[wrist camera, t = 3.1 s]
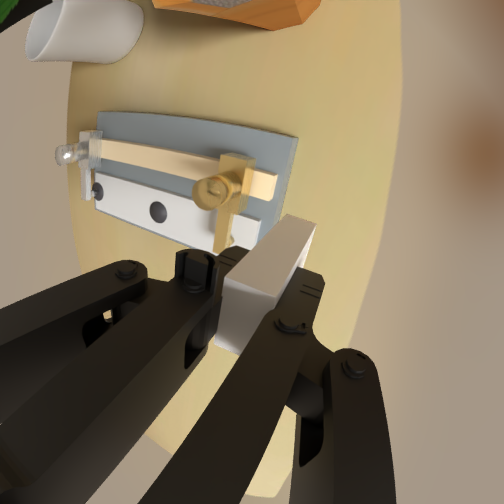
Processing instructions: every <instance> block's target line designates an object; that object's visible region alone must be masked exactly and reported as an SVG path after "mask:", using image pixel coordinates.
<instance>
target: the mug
mask: <svg viewBox="0 0 504 504" xmlns="http://www.w3.org/2000/svg"><path fill="white" fill-rule="evenodd" d="M52 1H53V3H51V4H49V5H47V6H45V7H43V8H41V9H39V10H37V11H36V12H35V15H34V17H33V19H32V21H31V23H30V26H29V29H28V33H27V37H26V44H25V53H26V57H27V59H28V60H30V61H34V62H36V61H37V62H38V61H75V62H92V63H101V64H111V63H115V62H117V61H119V60H121V59H122V58H123V57H125V56H126V55H127V54H128V53H129V52H130V51H131V49H132V48H133V47H134V45H135V44H136V42H137V40H138V39H139V36H140V34H141V32H142V28H143V24H144V14H143V11H142V9H141V7H140V6H139V5H137V4H136V3H133V2H130V1H127V0H52Z"/></svg>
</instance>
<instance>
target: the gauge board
mask: <svg viewBox="0 0 504 504" xmlns="http://www.w3.org/2000/svg"><path fill="white" fill-rule="evenodd" d="M96 130H100V131H103V135H102V150H101V167H98V168H95V169H94V184H93V187H92V190H94V189H97V190H98V195H97V196H94V198H95V210H98V211H100V212H103V213H105V214H107V215H110V216H112V217H115V218H117V219H120V220H122V221H125V222H127V223H129V224H132V225H134V226H137V227H139V228H142V229H144V230H147V231H149V232H152V233H154V234H157V235H159V236H162V237H164V238H167V239H169V240H172V241H175V242H177V243H180V244H182V245H185V246H187V247H190V248H192V249H201V250H204V251H208V252H210V253H212V254H214V255H215V256H217V255H219V254H217V253H214V252H212V250H213V243H214V236H215V229H216V222H217V216H218V209H216V208H215V209H213V210H211V211H205V210H202V209H200V208H199V207H198V206H197V205H196V204H195V203H194V201H193V198H192V188H193V186H194V184H195V183H196V182H197V181H198V180H200V179H203V178H206V177H209V176H212V175H215V174H218V168H219V162H220V156H221V154H227V153H236V154H240V155H244V156H249V157H253V158H256V163H255V168H254V173H253V178H252V183H251V188H250V194H249V199H248V204H247V209H245V210H244V211H242V212H241V213H239V214H238V215H235V214H234V217H233V223H232V229H231V235H230V236H232V237H233V238H234V243H233V244H232V245H231V246H230V247H232V246H235V245H237V246H240V247H243V248H245V249H248V250H251V249H252V248H253V247H254V246H255V245H256V244H257V243H258V242H259V241H260V240H261V239H262V238H263V237H264V236H265V235H266V234H267V233H268V232H269V231H270V230H271V229H272V228H273V227H274V226H275V225H276V224H277V223H278V222H279V218H280V214H281V210H282V206H283V202H284V198H285V193H286V189H287V185H288V181H289V177H290V173H291V168H292V164H293V160H294V156H295V151H296V147H297V143H298V138H296V137H292V136H288V135H284V134H280V133H276V132H271V131H267V130H262V129H257V128H252V127H247V126H242V125H237V124H231V123H226V122H220V121H213V120H207V119H200V118H192V117H184V116H176V115H166V114H155V113H142V112H125V111H102V112H98V117H97V128H96Z"/></svg>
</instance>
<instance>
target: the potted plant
mask: <svg viewBox="0 0 504 504" xmlns="http://www.w3.org/2000/svg"><path fill="white" fill-rule="evenodd" d="M152 2H153V4H154V7H155V8H160V9H169V10H177V11H184V12H191V13H197V14H202V15H207V16H213V17H218V18H223V19H228V20H233V21H238V22H242V23H246V24H250V25H254V26H258V27H262V28H265V29H269V30H272V31H275V30H279V29H283V28H287V27H291V26H295V25H300V24H303V23H304V22H305V21H306V19H307V18H308V17H309V16H310V15H311V14H312V13H313V12H314V11H315V10H316V8H317V7H318V6H319V5H320V2H321V0H152ZM51 3H53V1H52V0H0V33H1V32H3V31H4V30H5V29H7V28H9V27H10V26H12V25H13V24H15V23H17V22H18V21H20V20H21V19H23V18H25V17H27V16H28V15H30V14H32V13H33V12H36V11H37V10H39V9H41V8H43V7H45V6H47V5H49V4H51Z"/></svg>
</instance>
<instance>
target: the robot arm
mask: <svg viewBox="0 0 504 504" xmlns="http://www.w3.org/2000/svg"><path fill="white" fill-rule="evenodd" d="M316 225H317V224H316V223H313V222H310V221H307V220H304V219H301V218H298V217H295V216H292V215H289V214H286V215H285V216H284V217H283V218H282V219H281V220H280V221H279V222H278V223H277V224H276V225H275V226H274V227H273V228H272V229H271V230H270V231H269V232H268V233H267V234H266V235H265V236H264V237H263V238H262V239H261V240H260V241H259V242H258V243H257V244H256V245H255V246H254V247H253V248H252V249H251V250H248V249H245V248H243V247H240V246H237V245H235V246H232V247H229V248H226V249H225V250H223V251H222V252H221V253H220V254H219V255H217V256H215V255H214V254H212V253H210V252H208V251H204V250H201V249H184V250H181V251H178V252H176V260H175V277H174V278H173V279H171V280H170V281H169V282H166V281H160V280H156V279H151V278H148V274H147V268H146V267H145V266H144V264H142V263H140V262H138V261H133V260H121V261H117V262H114V263H111V264H109V265H106V266H104V267H101V268H98V269H96V270H93V271H91V272H88V273H85V274H83V275H80V276H78V277H76V278H73V279H70V280H68V281H65V282H63V283H60V284H58V285H56V286H53V287H51V288H48V289H46V290H43V291H41V292H39V293H37V294H34V295H32V296H29V297H27V298H25V299H22V300H20V301H18V302H15V303H13V304H11V305H8V306H6V307H4V308H2V309H0V424H1V423H2V424H1V425H0V504H85V503H86V502H87V501H88V500H89V498H90V497H91V496H92V495H93V494H94V493H95V491H96V490H97V489H98V488H99V486H101V484H102V483H103V482H104V481H105V480H106V478H107V477H108V476H109V475H110V474H111V473H112V471H113V470H114V469H115V468H116V467H117V465H118V464H119V463H120V462H121V461H122V459H123V458H124V457H125V455H126V454H127V453H128V452H129V451H130V449H131V448H132V447H133V446H134V445H135V443H136V442H137V441H138V440H139V438H140V437H141V436H142V435H143V434H144V432H145V431H146V430H147V429H148V427H149V426H150V425H151V424H152V422H153V421H154V420H155V419H156V417H157V416H158V415H159V414H160V412H161V411H162V410H163V409H164V407H165V406H166V405H167V404H168V402H169V401H170V400H171V398H172V397H173V396H174V395H175V393H176V392H177V391H178V389H179V388H180V387H181V386H182V384H183V383H184V382H185V380H186V379H187V378H188V377H189V375H190V374H191V373H192V371H193V370H194V369H195V368H196V366H197V365H198V364H199V362H200V361H201V360H202V358H203V357H204V356H205V354H206V352H207V350H208V343H209V341H210V340H211V338H212V337H213V336H214V334H215V339H214V344H215V345H217V346H219V347H222V348H224V349H226V350H228V351H230V352H233V353H235V354H237V355H240V356H239V358H238V360H237V361H236V363H235V364H234V366H233V368H232V369H231V371H230V372H229V374H228V375H227V377H226V378H225V380H224V382H223V383H222V385H221V386H220V388H219V389H218V391H217V392H216V394H215V395H214V397H213V398H212V400H211V401H210V403H209V404H208V406H207V407H206V409H205V410H204V412H203V413H202V415H201V416H200V418H199V419H198V421H197V422H196V424H195V425H194V427H193V428H192V430H191V431H190V433H189V434H188V435H187V437H186V438H185V440H184V441H183V443H182V444H181V445H180V447H179V448H178V450H177V451H176V453H175V454H174V455H173V457H172V458H171V460H170V461H169V462H168V464H167V465H166V466H165V468H164V469H163V471H162V472H161V474H160V475H159V476H158V478H157V479H156V480H155V481H154V483H153V484H152V485H151V487H150V488H149V489H148V491H147V492H146V493H145V495H144V496H143V497H142V499H141V500H140V501H139V503H138V504H239V503H240V501H241V499H242V497H243V495H244V494H245V492H246V490H247V488H248V486H249V484H250V482H251V480H252V478H253V476H254V474H255V472H256V470H257V468H258V465H259V463H260V461H261V459H262V457H263V455H264V453H265V450H266V448H267V446H268V444H269V442H270V439H271V437H272V435H273V432H274V430H275V428H276V425H277V423H278V421H279V418H280V416H281V414H282V411H283V409H284V406H285V405H286V406H287V407H289V408H290V409H292V410H293V411H294V412H296V413H297V415H296V429H295V443H294V456H293V468H292V479H291V490H290V499H289V504H396V491H395V480H394V469H393V461H392V452H391V445H390V438H389V431H388V425H387V419H386V413H385V407H384V402H383V397H382V391H381V387H380V382H379V377H378V372H377V369H376V367H375V364H374V363H373V361H372V360H371V359H370V358H369V357H368V356H367V355H365V354H364V353H362V352H361V351H358V350H354V349H351V348H343V349H340V350H337V351H335V352H332V351H331V350H329V349H327V348H326V347H325V346H323V345H322V344H321V343H320V342H319V341H318V340H317V339H316V337H315V335H314V333H313V329H312V326H313V321H314V318H315V315H316V312H317V309H318V306H319V302H320V299H321V296H322V292H323V289H324V286H325V282H324V279H323V277H322V275H320V274H317V273H314V272H312V271H309V270H306V269H303V266H304V263H305V260H306V257H307V253H308V250H309V247H310V244H311V241H312V238H313V234H314V231H315V228H316ZM108 310H111V316H112V317H111V318H109V319H104V316H103V313H104V312H106V311H108Z"/></svg>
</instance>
